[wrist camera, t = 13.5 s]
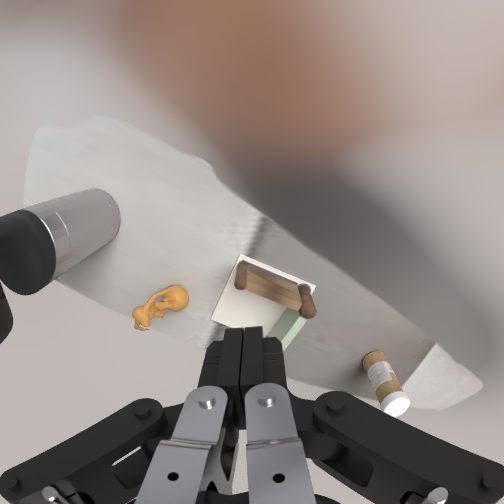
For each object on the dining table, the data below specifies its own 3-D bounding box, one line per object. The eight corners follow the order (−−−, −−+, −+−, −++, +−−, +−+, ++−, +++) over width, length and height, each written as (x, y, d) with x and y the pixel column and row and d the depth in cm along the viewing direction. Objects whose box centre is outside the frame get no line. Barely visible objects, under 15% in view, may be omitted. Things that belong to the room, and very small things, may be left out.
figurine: (177, 317, 48) (156, 361, 37) (146, 297, 47) (118, 337, 36) (202, 279, 46) (185, 319, 35) (169, 258, 45) (142, 291, 34)
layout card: (211, 318, 48) (210, 319, 48) (240, 253, 45) (240, 254, 44) (280, 344, 49) (280, 346, 49) (315, 285, 46) (315, 286, 46)
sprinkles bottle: (386, 362, 51) (411, 410, 38) (364, 372, 51) (385, 422, 38) (381, 345, 49) (408, 394, 37) (359, 356, 50) (381, 407, 37)
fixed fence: (235, 269, 45) (231, 288, 39) (240, 258, 44) (237, 275, 38) (305, 298, 46) (312, 320, 40) (311, 287, 46) (319, 308, 39)
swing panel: (293, 296, 46) (298, 316, 40) (302, 300, 46) (308, 321, 40) (262, 340, 48) (263, 364, 42) (271, 344, 49) (272, 368, 43)
